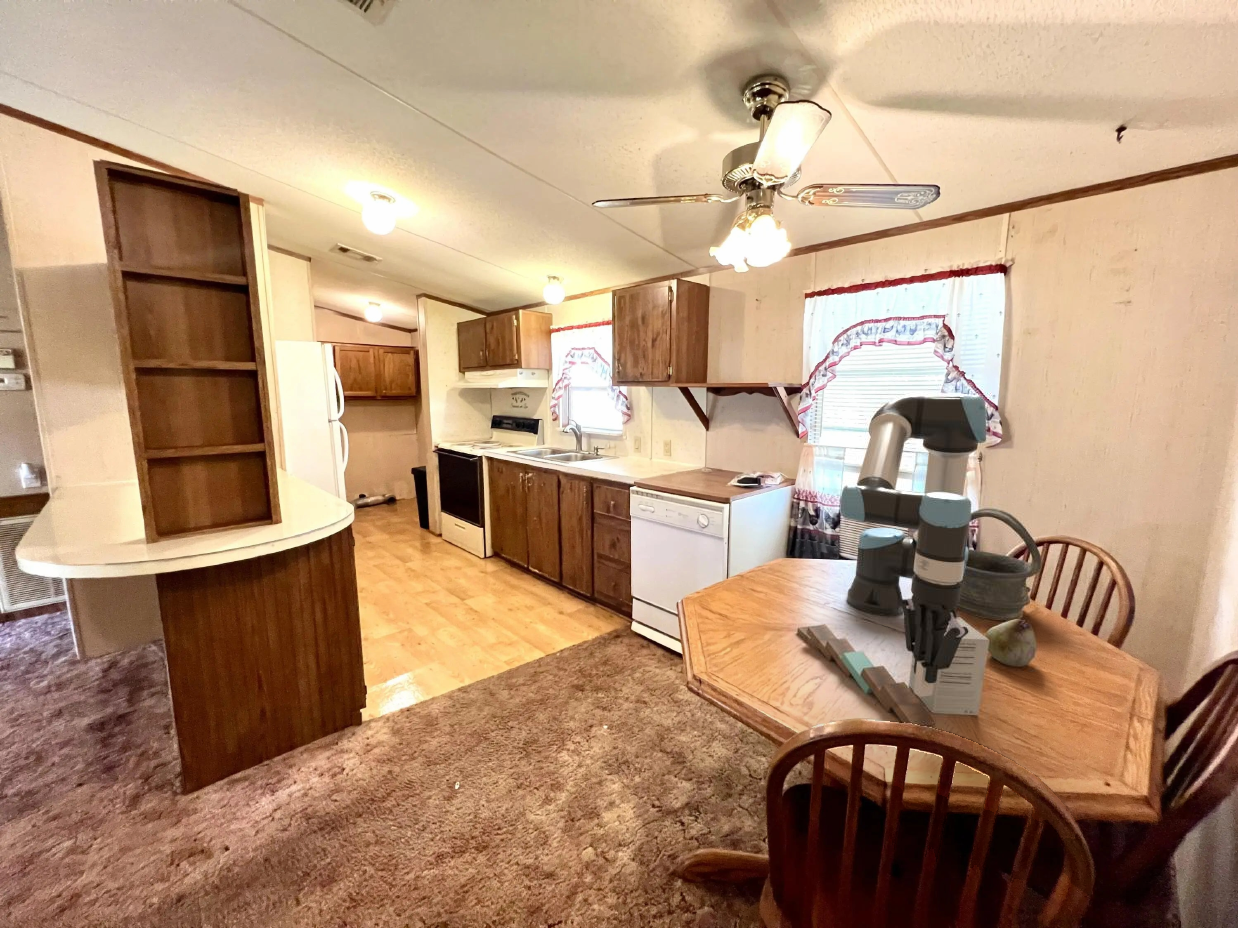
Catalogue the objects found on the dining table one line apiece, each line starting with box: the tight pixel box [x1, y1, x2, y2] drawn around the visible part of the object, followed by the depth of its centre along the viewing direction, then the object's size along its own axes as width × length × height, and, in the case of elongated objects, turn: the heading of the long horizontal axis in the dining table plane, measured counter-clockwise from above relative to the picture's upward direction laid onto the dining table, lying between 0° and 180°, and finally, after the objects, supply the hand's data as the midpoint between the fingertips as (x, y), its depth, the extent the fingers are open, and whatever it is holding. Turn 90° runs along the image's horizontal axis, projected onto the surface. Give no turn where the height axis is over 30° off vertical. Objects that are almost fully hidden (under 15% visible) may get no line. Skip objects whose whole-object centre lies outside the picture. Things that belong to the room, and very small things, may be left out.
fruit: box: [984, 618, 1038, 668], centre depth 114 cm, size 10×9×12 cm
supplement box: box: [908, 616, 989, 716], centre depth 100 cm, size 10×9×17 cm
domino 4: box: [861, 665, 897, 713], centre depth 101 cm, size 5×2×9 cm
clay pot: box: [955, 507, 1043, 622], centre depth 142 cm, size 22×23×30 cm
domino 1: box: [796, 625, 821, 652], centre depth 124 cm, size 5×2×9 cm
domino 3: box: [825, 638, 857, 678], centre depth 113 cm, size 5×2×9 cm
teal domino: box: [841, 650, 876, 695], centre depth 107 cm, size 5×2×9 cm
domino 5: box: [880, 681, 937, 729], centre depth 95 cm, size 5×2×9 cm
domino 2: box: [807, 623, 838, 662], centre depth 119 cm, size 5×2×9 cm
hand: (922, 693), depth 91 cm, fingers closed
